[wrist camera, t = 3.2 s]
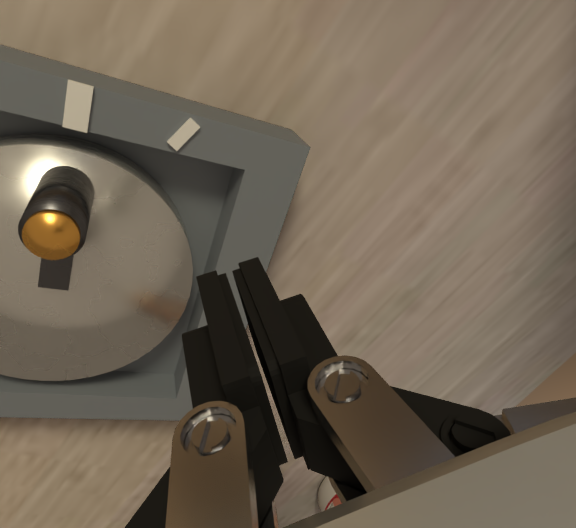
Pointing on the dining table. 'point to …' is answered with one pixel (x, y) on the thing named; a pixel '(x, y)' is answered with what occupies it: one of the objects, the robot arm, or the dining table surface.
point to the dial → (84, 259)
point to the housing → (183, 192)
